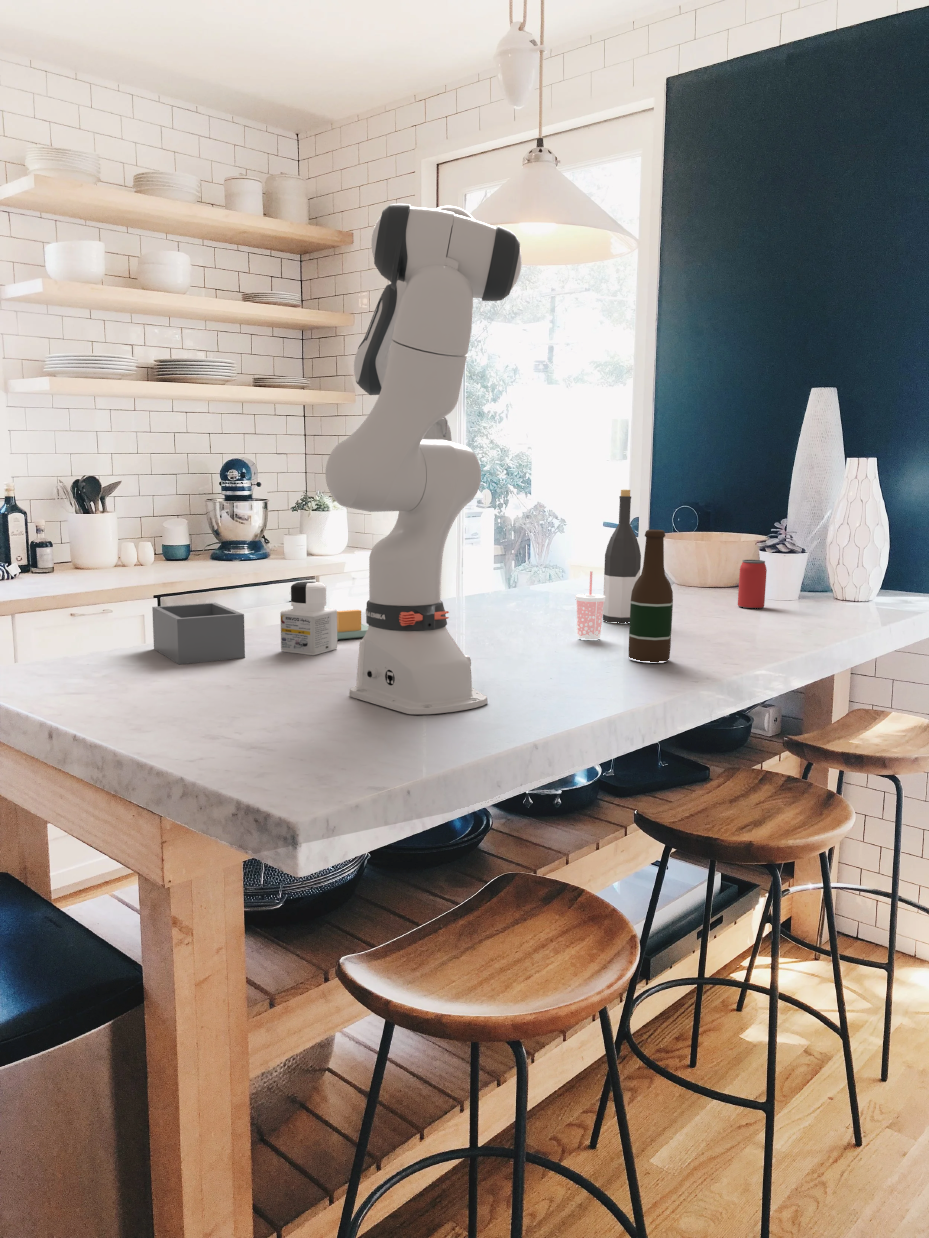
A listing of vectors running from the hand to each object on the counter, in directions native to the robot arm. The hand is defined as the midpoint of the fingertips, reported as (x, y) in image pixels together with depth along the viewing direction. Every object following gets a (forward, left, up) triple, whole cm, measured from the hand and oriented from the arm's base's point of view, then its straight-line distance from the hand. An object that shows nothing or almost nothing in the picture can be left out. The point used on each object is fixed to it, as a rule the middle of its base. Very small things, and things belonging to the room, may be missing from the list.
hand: (418, 485), depth 191 cm
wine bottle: (-3, -52, -31) cm, 60 cm away
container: (-1, +24, -31) cm, 39 cm away
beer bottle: (-39, -27, -31) cm, 57 cm away
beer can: (-2, -97, -31) cm, 102 cm away
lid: (+13, +12, -30) cm, 35 cm away
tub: (+6, +43, -31) cm, 53 cm away
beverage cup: (-17, -31, -31) cm, 47 cm away
